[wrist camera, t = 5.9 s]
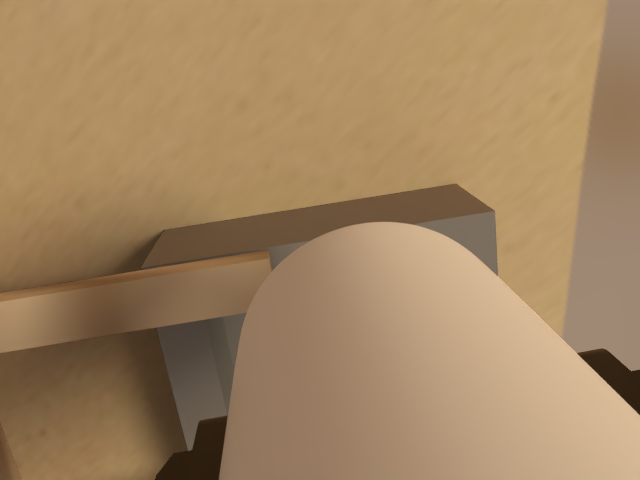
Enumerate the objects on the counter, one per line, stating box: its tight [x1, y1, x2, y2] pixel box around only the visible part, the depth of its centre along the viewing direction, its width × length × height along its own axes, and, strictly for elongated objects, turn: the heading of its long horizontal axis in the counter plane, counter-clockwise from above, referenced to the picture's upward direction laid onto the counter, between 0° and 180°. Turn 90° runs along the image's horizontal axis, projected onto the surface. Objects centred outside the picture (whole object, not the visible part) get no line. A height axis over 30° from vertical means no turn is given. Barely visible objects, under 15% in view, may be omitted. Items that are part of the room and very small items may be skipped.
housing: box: [141, 184, 498, 451], centre depth 27 cm, size 14×14×5 cm
